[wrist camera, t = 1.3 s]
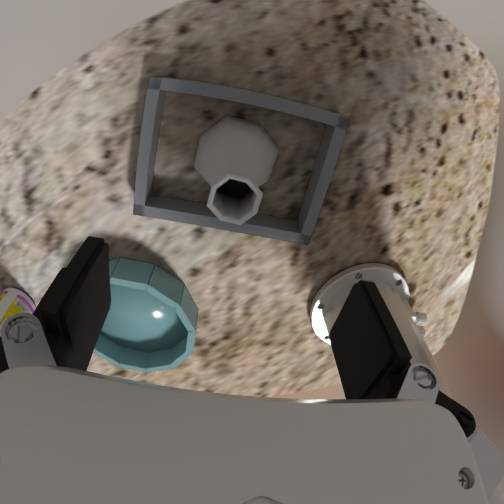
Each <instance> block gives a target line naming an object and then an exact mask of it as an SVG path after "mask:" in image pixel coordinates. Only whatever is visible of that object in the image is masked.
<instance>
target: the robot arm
mask: <svg viewBox="0 0 504 504" xmlns="http://www.w3.org/2000/svg"><path fill="white" fill-rule="evenodd" d="M409 293H410V292H409V287H408V284H407V282H406V281H405V279H404V277H403V276H402V275H401V273H400V272H399V271H397V270H396V269H395V268H393V267H391V266H388V265H385V264H380V263H366V264H360V265H356V266H353V267H350V268H348V269H346V270H344V271H342V272H340V273H338V274H336V275H335V276H334V277H332V278H331V279H329V280H328V281H327V282H326V283H325V284H324V285H323V286H322V287H321V288H320V290H319V291H318V292H317V294H316V295H315V297H314V299H313V301H312V304H311V308H310V320H311V325H312V328H313V330H314V332H315V333H316V335H317V336H318V337H319V338H320V339H322V340H323V341H325V342H327V343H329V344H331V346H332V350H333V353H334V357H335V360H336V364H337V368H338V371H339V375H340V378H341V382H342V386H343V389H344V393H345V397H346V399H342V400H341V399H340V400H325V399H323V400H322V399H287V398H268V397H253V396H241V395H230V394H220V393H211V392H203V391H195V390H187V389H180V388H173V387H167V386H161V385H155V384H149V383H143V382H138V381H133V380H127V379H122V378H117V377H112V376H107V375H102V374H98V373H93V372H88V371H86V370H87V367H88V365H89V362H90V359H91V356H92V353H93V351H94V348H95V345H96V343H97V340H98V337H99V335H100V332H101V330H102V327H103V325H104V322H105V320H106V317H107V315H108V312H109V310H110V306H111V289H110V272H109V246H108V244H107V243H104V239H102V238H96V237H90V236H89V237H88V238H87V239H86V240H85V242H84V243H83V244H82V246H81V247H80V249H79V250H78V252H77V253H76V254H75V256H74V257H73V259H72V260H71V262H70V263H69V265H68V266H67V268H62V269H61V270H60V272H59V273H58V275H57V276H56V278H55V279H54V281H53V282H52V284H51V285H50V287H49V288H48V290H47V291H46V293H45V295H44V296H43V298H42V299H41V301H40V303H39V304H38V306H37V307H36V309H35V311H34V312H33V314H29V313H18V314H15V315H13V316H11V317H9V318H8V319H7V320H6V321H5V322H4V324H3V325H2V328H1V336H0V504H504V496H503V493H502V491H501V489H500V486H499V484H498V483H499V481H500V480H501V478H502V476H503V474H504V457H503V456H502V454H501V453H500V452H499V451H498V450H497V449H496V447H494V445H493V444H492V443H491V442H490V441H489V440H488V439H487V438H486V437H485V435H484V434H483V433H482V432H481V431H480V430H477V431H475V427H476V423H475V419H474V417H473V415H472V414H471V413H470V411H468V410H467V409H466V408H465V407H463V406H461V405H460V404H458V403H457V402H456V401H454V399H453V397H452V395H451V393H450V390H449V388H448V386H447V384H446V382H445V380H444V378H443V376H442V374H441V372H440V370H439V368H438V366H437V364H436V362H435V360H434V358H433V356H432V354H431V352H430V350H429V348H428V346H427V344H426V342H425V340H424V339H423V337H424V335H425V330H424V327H423V326H416V324H415V323H420V324H424V323H425V322H426V319H427V316H426V314H425V313H420V312H416V313H415V312H413V310H412V309H411V307H410V305H409V303H408V302H409Z"/></svg>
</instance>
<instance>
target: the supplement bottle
mask: <svg viewBox="0 0 504 504" xmlns="http://www.w3.org/2000/svg"><path fill="white" fill-rule="evenodd" d="M35 309H36V306H35V304H34V303H33V301H32V300H31V299H30V298H29V297H28V296H27V295H26V294H25V293H24V292H22V291H20V290H18V289H15V288H6V289H5V290H3V291H2V293H1V294H0V336H1V328H2V325H3V324H4V322H5V321H6V320H7V319H8V318H9V317H11V316H13V315H15V314H18V313H29V314H33V312H34V311H35Z"/></svg>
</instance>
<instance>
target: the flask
mask: <svg viewBox="0 0 504 504" xmlns="http://www.w3.org/2000/svg"><path fill="white" fill-rule="evenodd" d="M278 152H279V148H278V147H277V145H276V144H275V143H274V141H273V140H272V139H271V137H270V136H269V135H268V134H267V132H266V131H265V130H264V128H263V127H262V126H261V125H260V123H256V122H252V121H248V120H245V119H241V118H237V117H233V116H229V115H226V116H225V117H223V118H222V119H221V120H219V121H218V122H217V123H215V124H214V125H213V126H212V127H210V128H209V129H208V130H206V131H205V132H204V133H203V134H201V135H200V138H199V142H198V146H197V150H196V154H195V159H194V163H193V167H194V168H195V169H196V170H197V172H198V173H199V174H200V175H201V176H202V177H203V178H204V179H205V181H206V182H207V183H208V184H209V185H210V186H211V189H210V193H209V197H208V201H207V207H208V208H209V209H210V210H211V211H212V212H213V213H214V214H215V215H216V217H217V218H218V219H219V220H220V221H224V222H228V223H233V224H237V225H241V224H243V223H244V222H246V221H247V220H249V219H250V218H251V217H253V216H254V215H256V214H257V212H258V209H259V206H260V203H261V199H262V196H263V193H262V192H261V191H260V189H259V188H258V187H259V186H261V185H262V184H263V183H265V182H266V181H268V180H269V179H270V176H271V173H272V170H273V167H274V164H275V161H276V158H277V155H278Z"/></svg>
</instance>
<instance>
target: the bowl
mask: <svg viewBox="0 0 504 504" xmlns="http://www.w3.org/2000/svg"><path fill="white" fill-rule="evenodd" d="M109 272H110V289H111V306H110V310H109V312H108V315H107V317H106V320H105V322H104V325H103V327H102V330H101V332H100V335H99V337H98V340H97V343H96V345H95V348H94V351H93V352H94V353H95V354H97V355H99V356H100V357H102V358H104V359H106V360H107V361H109V362H111V363H113V364H114V365H116V366H119V367H123V368H127V369H132V370H137V371H142V372H154V371H161V370H167V369H173V368H175V367H176V366H178V365H179V364H180V363H182V362H183V361H184V360H185V359H187V358H188V357H189V356H190V355H192V352H193V346H194V340H195V333H196V325H197V317H198V308H197V306H196V304H195V302H194V301H193V299H192V297H191V295H190V293H189V291H188V290H187V288H186V286H185V284H184V283H182V282H181V281H179V280H178V279H176V278H175V277H173V276H172V275H170V274H169V273H167V272H166V271H164V270H163V269H162V268H160V267H159V266H157V265H156V264H155V265H154V264H152V263H146V262H141V261H135V260H130V259H124V258H118V259H115V260H112V261H109Z"/></svg>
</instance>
